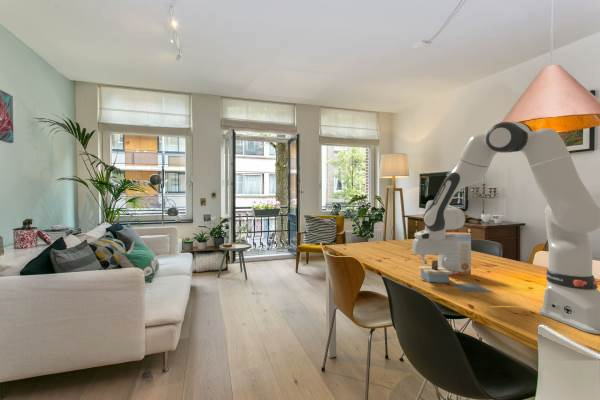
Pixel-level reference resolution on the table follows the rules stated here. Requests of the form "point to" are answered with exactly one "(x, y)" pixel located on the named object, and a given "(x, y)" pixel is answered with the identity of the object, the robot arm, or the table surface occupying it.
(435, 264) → the lid
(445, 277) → the blue square tray
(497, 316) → the table surface
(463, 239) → the cracker box
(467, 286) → the mat
